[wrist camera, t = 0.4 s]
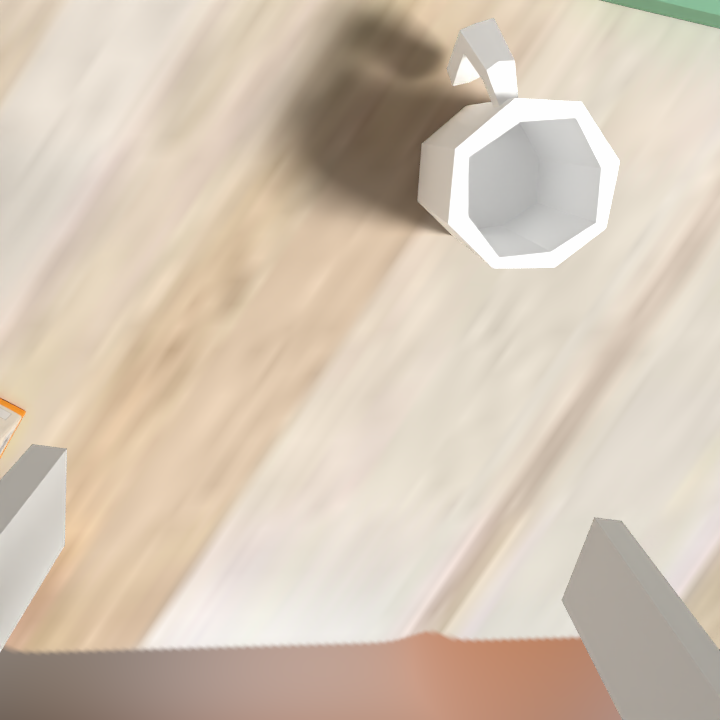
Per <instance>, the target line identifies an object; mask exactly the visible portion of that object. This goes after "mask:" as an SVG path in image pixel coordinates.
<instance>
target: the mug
mask: <svg viewBox="0 0 720 720" xmlns="http://www.w3.org/2000/svg"><path fill="white" fill-rule="evenodd" d="M447 71H448V74H449V77H450V80H451V83H452V86H456V85H460V84H464V83H469V82H471V81H473V80H475V79H478V78H480V77H481V78H482V80H483V82H484V84H485V87H486V89H487V92H488V94H489V97H490V99H491V102H487V103H480V104H474V105H467V106H465V107H464V108H463V109H462V110H460V111H459V112H458V113H457V114H456V115H455V116H453V117H452V118H451V119H450V120H449V121H448V122H446V123H445V124H444V125H443V126H442V127H441V128H439V129H438V130H437V131H436V132H435V133H434V134H432V135H431V136H430V137H429V138H428V139H427V140H425V141H424V142H423V143H422V145H421V158H420V172H419V185H418V199H417V201H418V202H419V203H420V204H421V205H422V206H423V207H424V208H425V209H426V210H427V211H428V212H429V213H430V214H431V215H432V216H433V217H434V218H435V219H436V220H437V221H438V222H439V223H440V224H441V225H442V226H443V227H444V228H445V229H446V230H447V231H448V232H449V233H450V234H451V235H452V236H453V237H455V238H456V239H457V240H458V241H460V242H461V243H462V244H463V245H465V246H466V247H467V248H468V249H470V250H471V251H472V252H473V253H475V254H476V255H477V256H478V257H480V258H481V259H482V260H483V261H485V262H486V263H487V264H488V265H490V266H491V267H492V268H493V269H494V268H555V267H556V266H557V265H559V264H560V263H561V262H563V261H564V260H565V259H566V258H568V257H569V256H570V255H572V254H573V253H574V252H576V251H577V250H578V249H580V248H581V247H582V246H584V245H585V244H586V243H587V242H589V241H590V240H591V239H593V238H594V237H595V236H597V235H598V234H599V233H601V232H602V231H603V230H604V229H606V227H607V222H608V217H609V212H610V208H611V203H612V198H613V193H614V188H615V183H616V179H617V174H618V169H619V164H620V161H619V159H618V157H617V156H616V154H615V153H614V151H613V150H612V148H611V147H610V145H609V143H608V142H607V140H606V139H605V137H604V136H603V134H602V133H601V131H600V129H599V128H598V126H597V125H596V123H595V122H594V120H593V119H592V117H591V116H590V114H589V112H588V111H587V109H586V108H585V106H584V105H583V103H582V102H578V101H560V100H541V99H523V98H518V91H517V80H516V69H515V60H514V58H513V56H512V54H511V52H510V50H509V48H508V46H507V44H506V42H505V40H504V38H503V36H502V34H501V32H500V29H499V27H498V25H497V23H496V21H495V19H494V18H492V19H489V20H485V21H482V22H478V23H475V24H473V25H471V26H468V27H466V28H464V29H462V30H460V31H459V34H458V37H457V40H456V43H455V46H454V49H453V52H452V55H451V57H450V60H449V63H448V66H447Z"/></svg>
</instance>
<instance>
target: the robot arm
mask: <svg viewBox="0 0 720 720" xmlns="http://www.w3.org/2000/svg"><path fill="white" fill-rule="evenodd" d="M66 466H67V449H65V448H57V447H50V446H42V445H34V444H32V445H31V446H30V447H29V448H28V449H27V451H26V452H25V453H24V454H23V455H22V456H21V457H20V458H19V460H18V461H17V462H16V463H15V464H14V465H13V466H12V467H11V469H10V470H9V471H8V472H7V473H6V474H5V475H4V476H3V477H2V479H1V480H0V652H1V650H2V648H3V647H4V645H5V643H6V642H7V640H8V638H9V637H10V635H11V633H12V632H13V630H14V628H15V627H16V625H17V623H18V622H19V620H20V619H21V617H22V615H23V614H24V612H25V610H26V609H27V607H28V605H29V604H30V602H31V600H32V599H33V597H34V595H35V594H36V592H37V590H38V589H39V587H40V585H41V584H42V582H43V580H44V579H45V577H46V575H47V574H48V572H49V570H50V569H51V567H52V565H53V564H54V562H55V560H56V559H57V557H58V555H59V554H60V552H61V551H62V549H63V547H64V546H65V511H66ZM562 602H563V604H564V606H565V608H566V610H567V612H568V614H569V616H570V618H571V620H572V621H573V623H574V625H575V627H576V629H577V631H578V633H579V635H580V637H581V639H582V641H583V643H584V645H585V647H586V649H587V651H588V653H589V655H590V657H591V659H592V661H593V663H594V665H595V667H596V669H597V671H598V673H599V675H600V677H601V679H602V681H603V683H604V685H605V687H606V688H607V691H608V692H609V695H610V696H611V698H612V700H613V702H614V704H615V706H616V708H617V710H618V712H619V714H620V716H621V718H622V720H720V650H719V649H718V647H717V646H716V645H715V644H714V642H713V641H712V640H711V638H710V637H709V636H708V634H707V633H706V632H705V630H704V629H703V628H702V626H701V625H700V624H699V622H698V621H697V620H696V618H695V617H694V616H693V614H692V613H691V612H690V611H689V609H688V608H687V607H686V605H685V604H684V603H683V601H682V600H681V599H680V597H679V596H678V595H677V593H676V592H675V591H674V589H673V588H672V587H671V585H670V584H669V583H668V581H667V580H666V579H665V578H664V576H663V575H662V574H661V572H660V571H659V570H658V568H657V567H656V566H655V564H654V563H653V562H652V560H651V559H650V558H649V556H648V555H647V554H646V552H645V551H644V550H643V548H642V547H641V546H640V545H639V543H638V542H637V541H636V539H635V538H634V537H633V535H632V534H631V533H630V531H629V530H628V529H627V527H626V526H625V525H624V523H623V522H622V521H618V520H610V519H603V518H595V517H594V520H593V522H592V525H591V527H590V530H589V532H588V535H587V537H586V540H585V542H584V545H583V547H582V550H581V553H580V555H579V558H578V560H577V563H576V565H575V568H574V570H573V573H572V575H571V578H570V580H569V583H568V586H567V588H566V591H565V593H564V596H563V598H562Z"/></svg>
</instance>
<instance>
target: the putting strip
mask: <svg viewBox="0 0 720 720" xmlns="http://www.w3.org/2000/svg"><path fill="white" fill-rule="evenodd" d="M601 1H606V2H610V3H614V4H618V5H623V6H627V7H631V8H635V9H639V10H644V11H648V12H652V13H656V14H661V15H665V16H669V17H673V18H677V19H682V20H686V21H690V22H694V23H699V24H703V25H707V26H711V27H716V28H720V0H601Z"/></svg>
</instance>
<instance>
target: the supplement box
mask: <svg viewBox="0 0 720 720" xmlns="http://www.w3.org/2000/svg"><path fill="white" fill-rule="evenodd" d="M25 413H26V412H25V411H24V410H22V409H20V408H18V407H16V406H14V405H12V404H10V403H8V402H6V401H4V400H2V399H0V458H1V456H2V454H3V452H4V451H5V449H6V447H7V445H8V443H9V441H10V439H11V438H12V436H13V434H14V432H15V430H16V429H17V427H18V425H19V423H20V421H21V420H22V418H23V416H24V415H25Z"/></svg>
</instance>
